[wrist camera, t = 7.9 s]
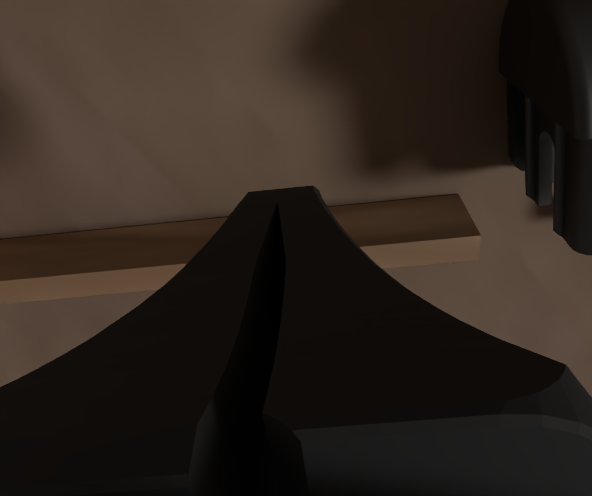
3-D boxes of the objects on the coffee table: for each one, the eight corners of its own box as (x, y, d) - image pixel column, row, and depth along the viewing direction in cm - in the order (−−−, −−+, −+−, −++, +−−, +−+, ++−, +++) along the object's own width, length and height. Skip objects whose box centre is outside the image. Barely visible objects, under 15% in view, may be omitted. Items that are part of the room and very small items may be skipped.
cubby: (456, 216, 22) (478, 259, 19) (-21, 262, 23) (-59, 309, 20) (479, -160, 15) (516, -168, 13) (-193, -71, 16) (-281, -63, 14)
